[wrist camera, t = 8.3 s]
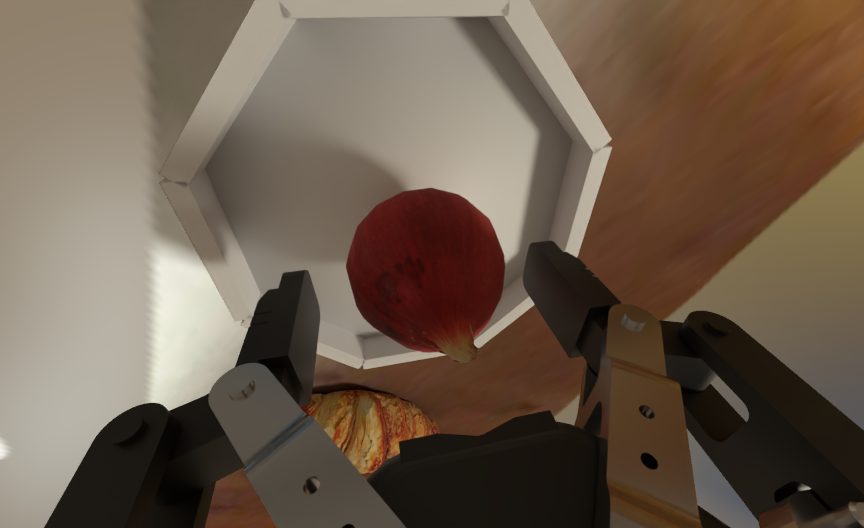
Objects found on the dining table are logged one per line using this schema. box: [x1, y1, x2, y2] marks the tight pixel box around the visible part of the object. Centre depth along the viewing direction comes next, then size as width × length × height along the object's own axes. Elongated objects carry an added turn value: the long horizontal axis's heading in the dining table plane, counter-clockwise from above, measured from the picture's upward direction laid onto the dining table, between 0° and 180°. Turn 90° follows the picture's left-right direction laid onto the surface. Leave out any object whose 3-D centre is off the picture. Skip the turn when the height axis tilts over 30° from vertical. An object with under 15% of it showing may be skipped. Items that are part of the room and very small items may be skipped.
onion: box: [346, 188, 505, 363], centre depth 12 cm, size 6×6×8 cm
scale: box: [159, 0, 612, 369], centre depth 18 cm, size 17×17×9 cm
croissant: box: [300, 390, 440, 473], centre depth 35 cm, size 21×10×8 cm, turn 64°
